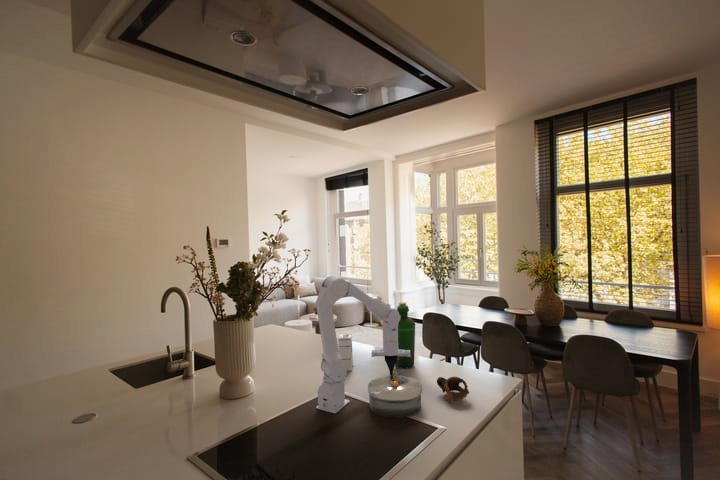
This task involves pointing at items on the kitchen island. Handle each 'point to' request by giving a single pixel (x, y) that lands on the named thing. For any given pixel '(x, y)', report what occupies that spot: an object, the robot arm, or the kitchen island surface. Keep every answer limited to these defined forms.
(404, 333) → the bottle
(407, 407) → the cooker pot
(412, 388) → the cooker lid
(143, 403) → the kitchen island surface
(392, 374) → the robot arm
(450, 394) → the pottery mug
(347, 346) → the syrup box
